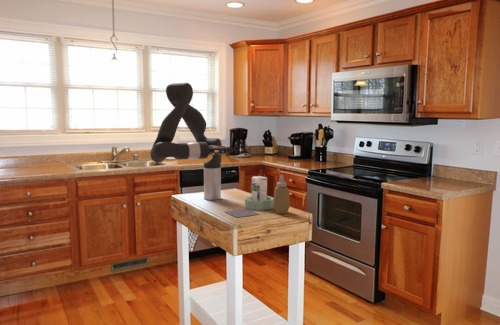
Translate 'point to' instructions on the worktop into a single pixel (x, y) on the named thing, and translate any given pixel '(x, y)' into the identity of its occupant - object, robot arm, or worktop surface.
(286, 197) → the squeeze bottle
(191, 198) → the worktop surface
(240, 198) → the worktop surface
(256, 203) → the bowl
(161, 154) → the robot arm
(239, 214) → the mat
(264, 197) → the syrup box
